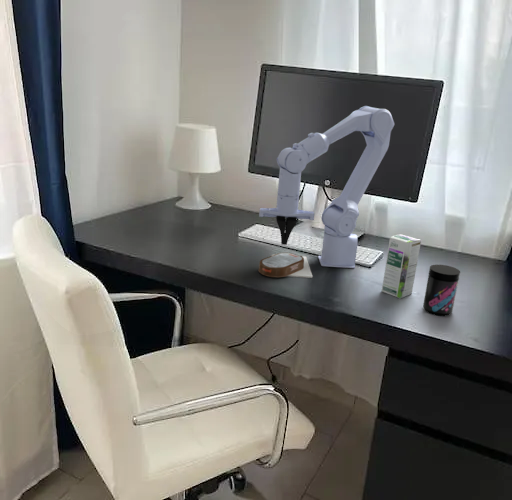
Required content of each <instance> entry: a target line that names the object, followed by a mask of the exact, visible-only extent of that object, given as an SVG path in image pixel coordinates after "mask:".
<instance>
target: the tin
mask: <svg viewBox="0 0 512 500" xmlns="http://www.w3.org/2000/svg"><path fill="white" fill-rule="evenodd" d="M302 256H303V255H299V254H296V253H292V252H279V253H276V254H271V255H270V256H267V257H265V258H262V259H260V261H259V264H258V272H259V273H260V275H262V276H266V277H270V278H284V277H289V276H288V275H290V274H292V273H295V272H297V271H299V270H302V269H303V268H304V258H303V257H302Z"/></svg>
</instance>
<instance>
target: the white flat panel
mask: <svg viewBox="0 0 512 500" xmlns="http://www.w3.org/2000/svg"><path fill="white" fill-rule="evenodd" d="M301 256H302V257H303V258H304V268H303V269H302V270H299V271H297V272H295V273H292V274H290V275H288V276H287V277H292V278H307V279H310V278H311V279H312V278H313V273H312V270H311V267H310V265H309V261H308V257H307V256H303V255H301Z"/></svg>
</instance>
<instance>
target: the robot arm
mask: <svg viewBox="0 0 512 500" xmlns="http://www.w3.org/2000/svg"><path fill="white" fill-rule="evenodd" d="M394 126H395V121H394V119H393V116H392V113H391V112H390V111H389V110H388V109H386V108H377V107H372V106H368V105H364V106H362V107H359V109H356V110H354V111H352V112H351V113H350V114H349V115H348V116H347V117H346V116H345V118H344V119H342V120H341V121H339V122H338V123H337V124H334V125H333V126H332V127H330V128H329V129H327V130H326V131H324V132H322V133H320V132H310V133H308V134H307V137H306V138H304V139H302V140H301V141H299V142H298V143H297V142H295V143H292V147H285V148H283V149H282V150H281V151H280V152H279V154H278V156H277V157H276V163H277V166H278V167H279V175H278V184H277V187H278V188H277V197H276V207H272V208H271V207H269V208H268V207H267V208H266V207H265V208H264V207H261V208H259V210H258V211H259V212H258V213H259V214H258V217H259V218H264V217H268V218H275V220H276V223H277V225H278V229H279V232H280V241H281V242H280V243H281V245H284V246H287V244H288V241H289V238H290V235H291V233H292V232H293V229H294V228H295V226H296V225H297V222H298V219H299V220H309V221H315V220H314V219H315V211H312V210H305V209H299V201H300V199H299V198H300V192H301V190H300V189H301V181H302V177H301V176H302V172H303V171H304V170H305V169H306V167H307V164H309V163H310V162H312V161H314V160H315V159H317V158H319V157H320V156H322V155H323V154H325V153H327V152H328V151H329V147H330V145H331V144H334V143H335V142H337V141H338V140H340V139H343V138H344V137H346V136H348V135H350V134H352V133H354V132H360V133H361V134H362V135H363V137H364V139H365V143H366V146H365V148H364V149H363V152H362V154H361V156H360V158H359V160H358V161H357V164H356V166H355V167H354V169H353V171H352V172H351V174H350V176H349V179H348V180H347V181H346V183H345V186H344V187H343V190H342V191H341V193H340V195H339V196H338V197H336V198H334V199H332V200H331V202H330V204H329V205H328V206H327V207H326V208H324V210H323V211H322V213H321V221H322V224H323V225H324V230H323V239H322V245H321V246H322V247H321V255H318V256H317V259H318V261H319V263H320V266H321V267H330V268H344V269H345V268H346V269H348V268H349V269H355V268H356V259H357V251H358V235H357V234H356V233H354V231H355V229H356V226H357V220H358V217H359V215H360V211H359V203H360V201H361V200H362V197H363V196H364V194H365V192H366V190H367V188H368V187H369V184H370V183H371V181H372V179H373V177H374V175H375V173H376V172H377V170H378V167H379V166H380V164H381V162H382V160H383V159H384V157H385V155H386V153H387V152H388V150H389V146H390V140H391V134H392V130H393V129H394Z"/></svg>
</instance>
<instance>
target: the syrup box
mask: <svg viewBox="0 0 512 500" xmlns="http://www.w3.org/2000/svg"><path fill="white" fill-rule="evenodd" d="M388 242H389V243H388V248H387V252H386V253H387V254H386V262H385V267H384V275H383V280H382V285H381V293H385V294H387V295H391V296H393V297H395V298H397V299H400V300H401V299H403V298H405V297H407V296H409V295H412V294H413V288H414V283H415V278H416V277H415V276H416V271H417V266H418V260H419V256H420V250H421V249H420V248H421V245H422V244H421V243H422V239H418V238H415V237H412V236H408V235H404V234H396V235H395V234H394V235H392V236H391V237H389V241H388Z"/></svg>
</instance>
